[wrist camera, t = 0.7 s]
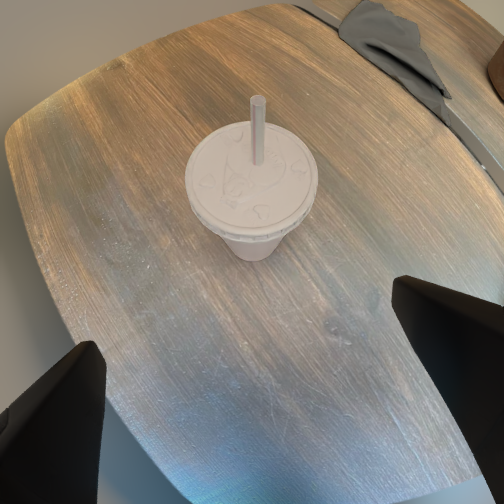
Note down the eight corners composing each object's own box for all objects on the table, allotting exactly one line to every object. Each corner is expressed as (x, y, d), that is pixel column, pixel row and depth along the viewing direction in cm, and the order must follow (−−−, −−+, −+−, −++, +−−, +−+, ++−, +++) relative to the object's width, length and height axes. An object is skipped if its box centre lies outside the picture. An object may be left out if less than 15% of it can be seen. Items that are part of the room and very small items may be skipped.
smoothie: (310, 224, 24) (365, 96, 10) (267, 296, 22) (286, 227, 9) (239, 185, 25) (225, 41, 11) (193, 251, 23) (123, 140, 10)
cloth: (330, -7, 34) (331, -18, 32) (411, 13, 34) (415, 3, 32) (348, 104, 27) (353, 88, 25) (462, 131, 27) (472, 120, 25)
